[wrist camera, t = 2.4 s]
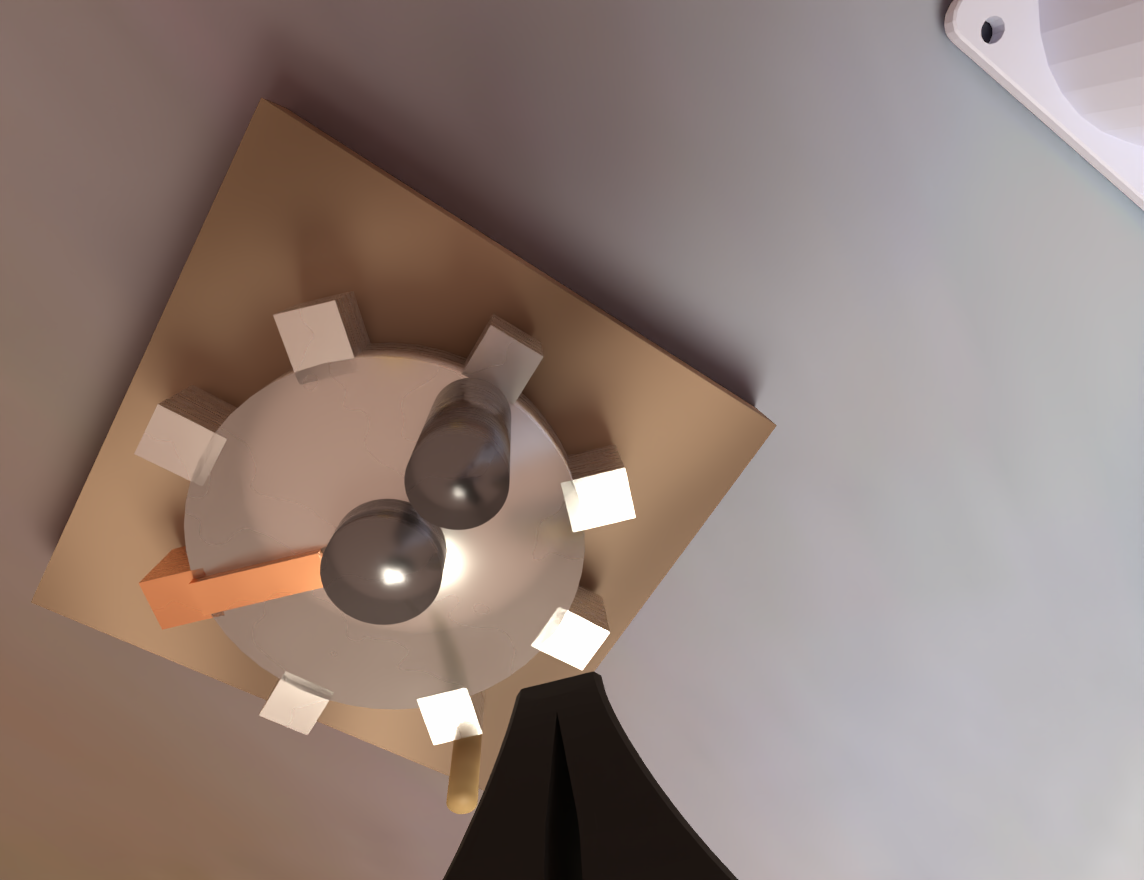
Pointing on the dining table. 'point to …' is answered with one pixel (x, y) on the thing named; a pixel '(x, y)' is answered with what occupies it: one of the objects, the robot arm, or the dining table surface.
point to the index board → (390, 315)
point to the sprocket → (384, 522)
